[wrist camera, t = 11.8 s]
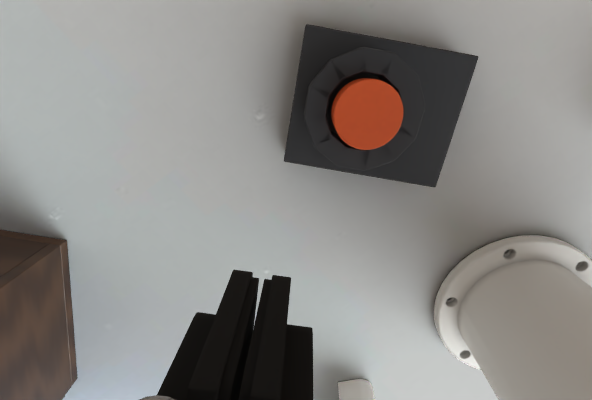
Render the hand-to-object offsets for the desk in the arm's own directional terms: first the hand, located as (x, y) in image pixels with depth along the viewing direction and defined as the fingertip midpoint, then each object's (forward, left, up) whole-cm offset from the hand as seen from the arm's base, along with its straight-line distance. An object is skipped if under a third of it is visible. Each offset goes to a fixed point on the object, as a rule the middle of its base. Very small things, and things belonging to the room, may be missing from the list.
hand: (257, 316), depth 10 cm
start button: (-4, -5, -12) cm, 13 cm away
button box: (-5, -5, -16) cm, 17 cm away
